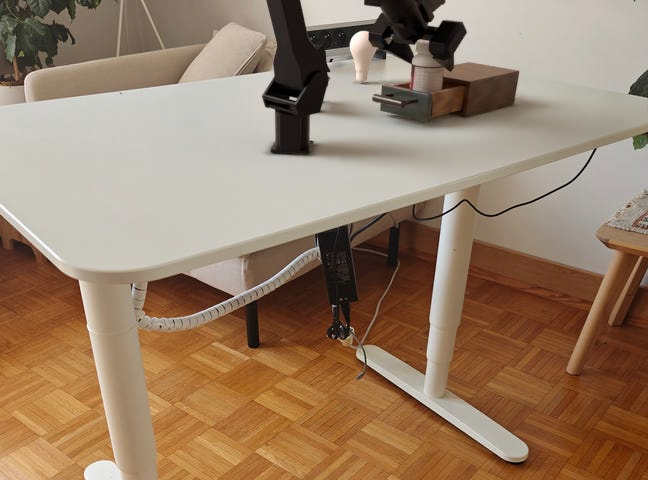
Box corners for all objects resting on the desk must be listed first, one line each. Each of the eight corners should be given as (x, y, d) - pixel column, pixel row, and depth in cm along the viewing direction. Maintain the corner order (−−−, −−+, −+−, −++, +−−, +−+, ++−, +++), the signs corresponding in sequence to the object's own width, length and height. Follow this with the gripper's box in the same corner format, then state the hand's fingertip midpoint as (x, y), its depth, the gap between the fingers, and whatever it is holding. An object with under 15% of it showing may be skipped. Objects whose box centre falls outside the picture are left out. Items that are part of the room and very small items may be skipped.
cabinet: (465, 117, 132) (470, 81, 129) (415, 106, 140) (418, 71, 136) (514, 104, 142) (519, 70, 138) (464, 94, 149) (468, 61, 146)
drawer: (408, 126, 123) (410, 98, 120) (362, 114, 130) (363, 88, 127) (476, 109, 134) (479, 83, 132) (430, 99, 141) (433, 74, 139)
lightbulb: (375, 86, 156) (378, 33, 150) (348, 85, 156) (350, 32, 150) (373, 80, 161) (376, 29, 155) (347, 80, 161) (349, 28, 155)
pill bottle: (413, 100, 135) (419, 37, 129) (444, 103, 133) (451, 40, 127) (403, 106, 131) (409, 42, 125) (434, 110, 129) (442, 44, 122)
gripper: (468, -33, 111) (496, 35, 123) (382, -38, 123) (416, 24, 135) (432, 25, 111) (464, 87, 123) (350, 14, 122) (386, 72, 135)
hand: (432, 65), depth 129 cm, fingers open, 9 cm apart
